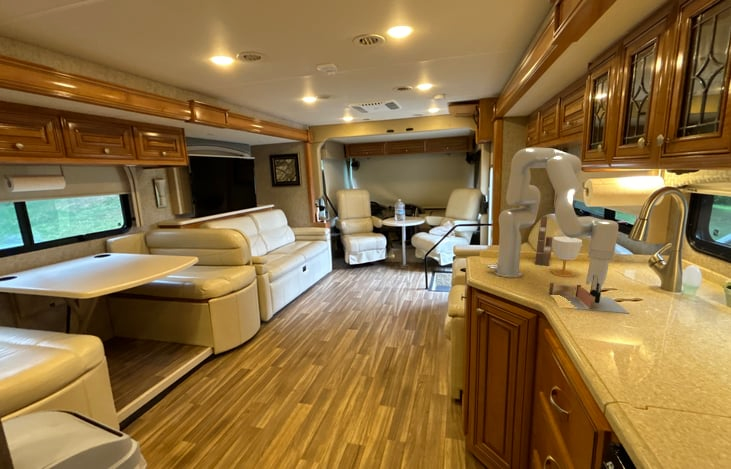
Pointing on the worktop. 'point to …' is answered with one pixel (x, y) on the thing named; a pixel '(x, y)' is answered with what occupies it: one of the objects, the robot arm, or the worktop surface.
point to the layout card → (597, 304)
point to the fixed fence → (563, 290)
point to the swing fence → (586, 297)
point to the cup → (566, 252)
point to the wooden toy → (543, 245)
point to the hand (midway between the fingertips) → (594, 301)
